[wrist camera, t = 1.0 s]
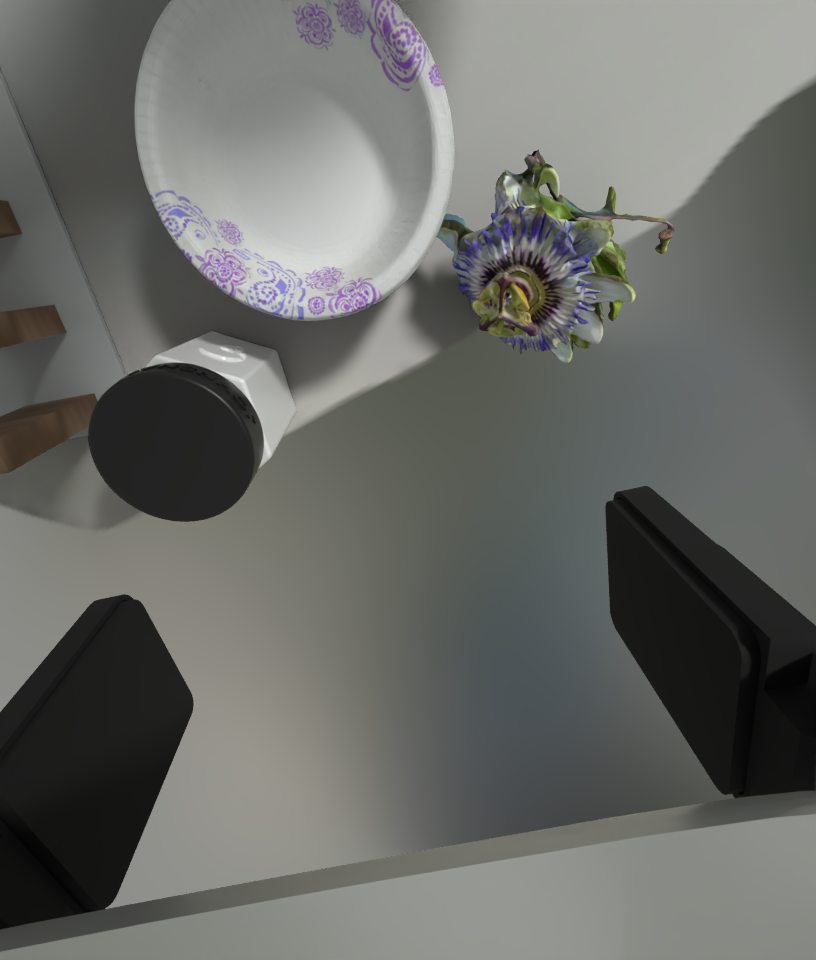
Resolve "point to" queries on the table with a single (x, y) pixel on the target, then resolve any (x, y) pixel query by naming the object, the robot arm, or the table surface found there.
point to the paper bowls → (295, 148)
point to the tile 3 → (8, 221)
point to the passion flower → (542, 264)
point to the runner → (45, 287)
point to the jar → (191, 427)
